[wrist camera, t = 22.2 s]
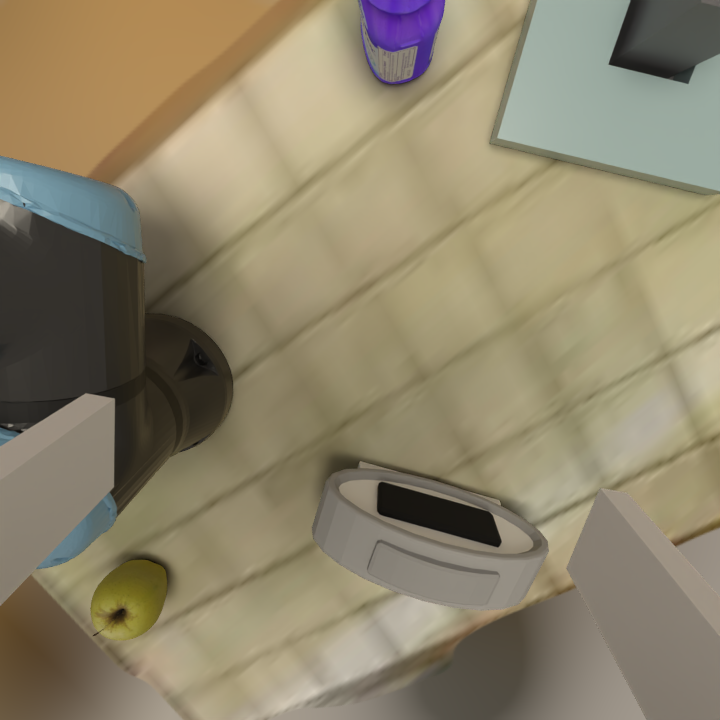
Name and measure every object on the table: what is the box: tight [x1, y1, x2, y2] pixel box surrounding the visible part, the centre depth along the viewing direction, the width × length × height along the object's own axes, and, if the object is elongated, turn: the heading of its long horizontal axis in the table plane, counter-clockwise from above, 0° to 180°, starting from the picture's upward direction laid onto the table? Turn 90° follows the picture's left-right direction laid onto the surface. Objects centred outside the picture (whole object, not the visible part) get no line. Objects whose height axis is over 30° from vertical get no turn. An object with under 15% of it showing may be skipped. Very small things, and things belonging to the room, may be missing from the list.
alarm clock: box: [312, 461, 549, 610], centre depth 46 cm, size 23×6×13 cm, turn 74°
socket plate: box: [490, 0, 720, 195], centre depth 35 cm, size 20×20×3 cm
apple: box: [91, 560, 167, 640], centre depth 53 cm, size 8×8×10 cm
